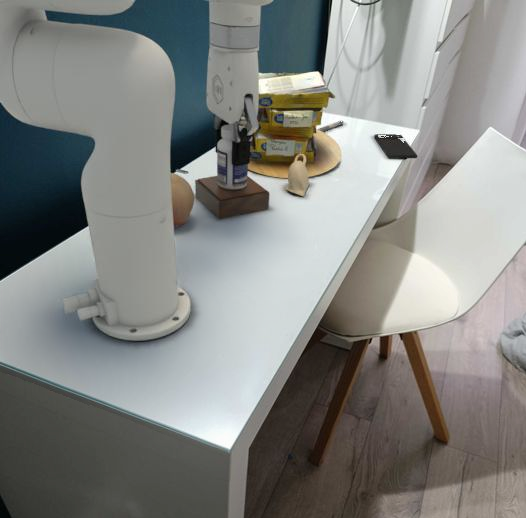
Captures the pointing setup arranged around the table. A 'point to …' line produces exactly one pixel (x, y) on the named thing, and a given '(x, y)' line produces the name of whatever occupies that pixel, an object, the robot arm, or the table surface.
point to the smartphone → (395, 146)
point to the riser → (231, 197)
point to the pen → (330, 126)
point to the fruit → (181, 199)
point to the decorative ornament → (298, 177)
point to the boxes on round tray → (292, 125)
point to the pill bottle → (229, 162)
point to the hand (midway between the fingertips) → (232, 157)
